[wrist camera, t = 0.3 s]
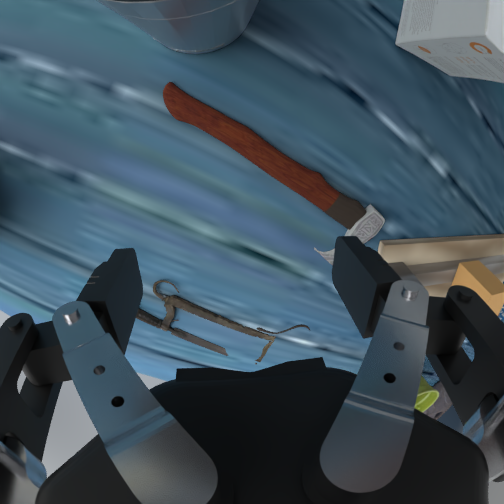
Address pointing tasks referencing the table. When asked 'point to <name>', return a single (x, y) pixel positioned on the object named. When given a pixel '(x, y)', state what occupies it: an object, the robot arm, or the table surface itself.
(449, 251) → the board
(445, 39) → the small box
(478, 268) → the block
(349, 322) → the table surface
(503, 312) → the woven mat
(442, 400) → the perforated stone tool
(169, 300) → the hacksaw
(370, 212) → the hand axe
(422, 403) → the plant pot
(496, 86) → the table surface
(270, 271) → the table surface
